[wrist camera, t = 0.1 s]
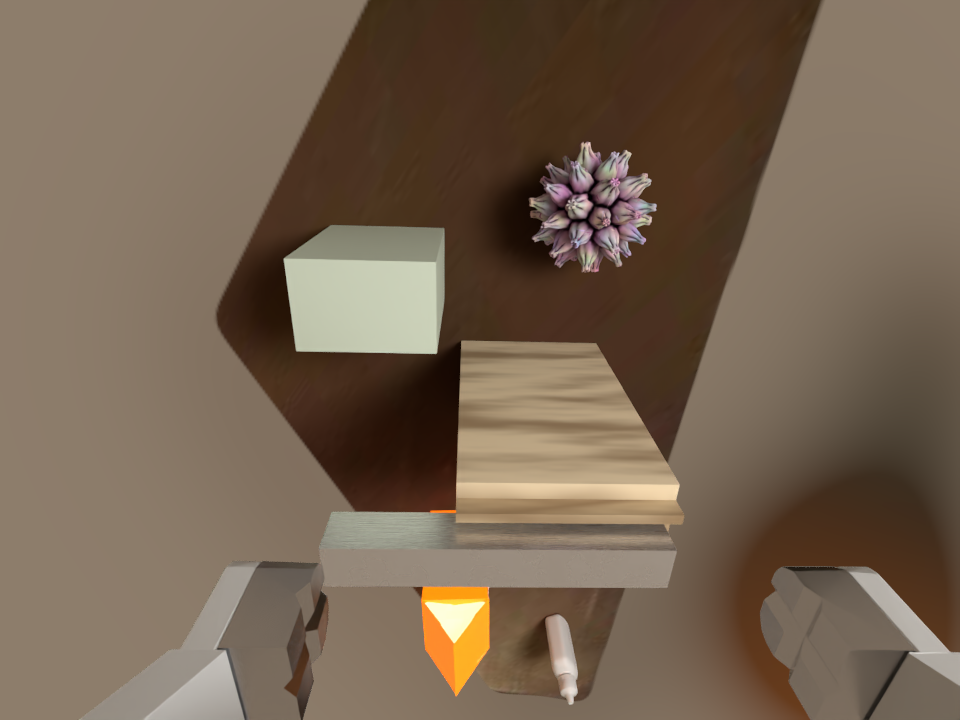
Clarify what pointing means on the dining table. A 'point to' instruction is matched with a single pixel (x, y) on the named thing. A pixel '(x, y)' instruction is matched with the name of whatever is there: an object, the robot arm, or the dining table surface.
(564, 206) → the flower
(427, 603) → the orange juice
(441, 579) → the steel bar
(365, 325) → the sage block
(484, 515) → the oak stand
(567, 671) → the eye dropper bottle
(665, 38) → the dining table surface
